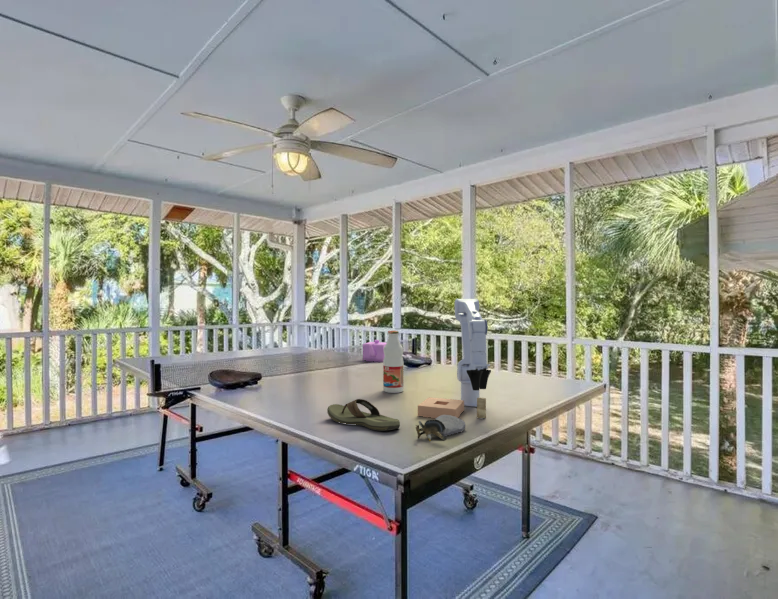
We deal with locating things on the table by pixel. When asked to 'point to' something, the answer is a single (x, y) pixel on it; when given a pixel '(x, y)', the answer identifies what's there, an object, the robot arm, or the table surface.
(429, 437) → the eagle figurine
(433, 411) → the socket
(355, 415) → the flip flop
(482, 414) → the peg
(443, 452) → the table surface
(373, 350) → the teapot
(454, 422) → the stone block
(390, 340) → the fruit juice
